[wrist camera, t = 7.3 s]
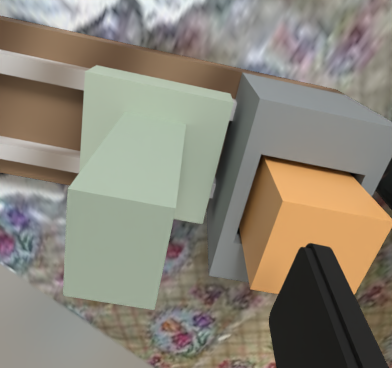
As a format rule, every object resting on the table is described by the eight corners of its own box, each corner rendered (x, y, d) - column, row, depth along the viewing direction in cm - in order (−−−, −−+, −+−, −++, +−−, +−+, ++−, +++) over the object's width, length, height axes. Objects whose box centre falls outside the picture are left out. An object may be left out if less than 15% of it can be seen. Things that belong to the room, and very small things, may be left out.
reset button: (341, 164, 16) (394, 222, 12) (311, 232, 18) (348, 305, 14) (259, 147, 16) (282, 200, 11) (237, 219, 18) (250, 289, 13)
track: (336, 89, 21) (369, 108, 17) (288, 214, 25) (305, 254, 21) (-120, -11, 19) (-209, -17, 15) (-92, 143, 23) (-156, 172, 18)
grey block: (345, 95, 19) (405, 129, 14) (292, 228, 23) (321, 297, 18) (242, 72, 19) (260, 98, 13) (206, 212, 23) (207, 278, 17)
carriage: (230, 93, 18) (260, 174, 9) (202, 206, 21) (203, 348, 12) (96, 65, 17) (-12, 121, 9) (88, 185, 21) (2, 318, 12)
